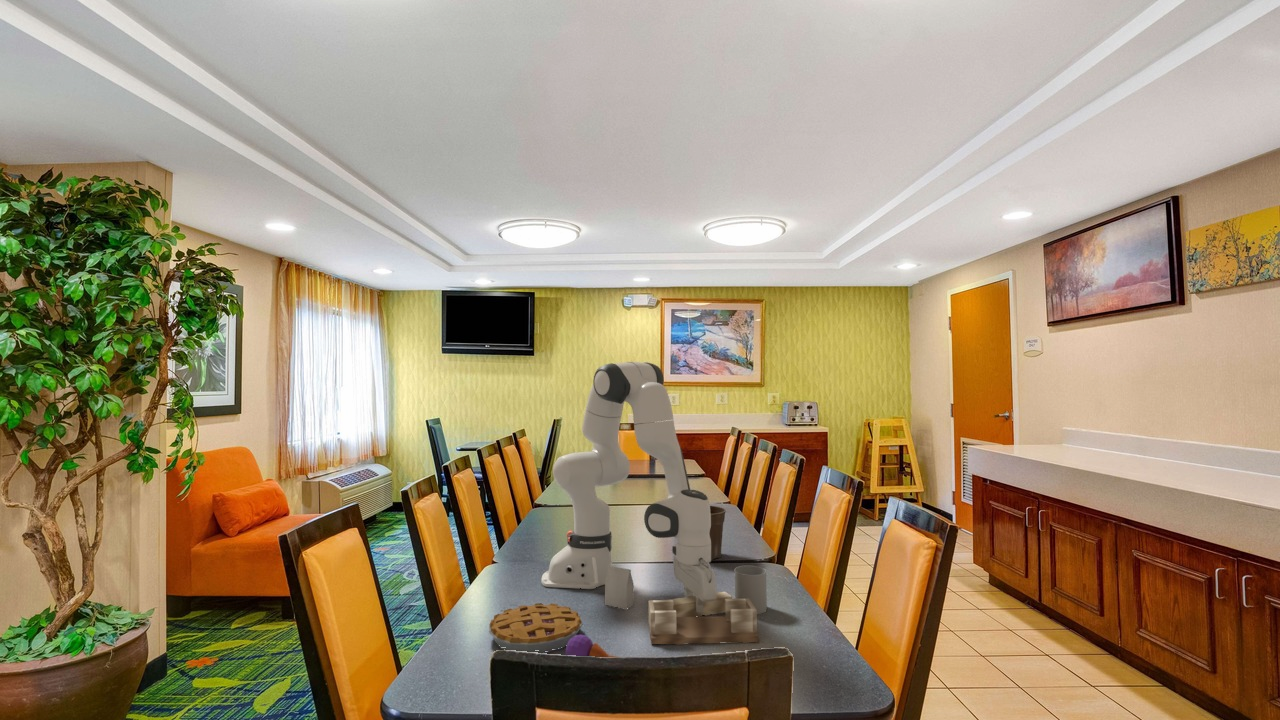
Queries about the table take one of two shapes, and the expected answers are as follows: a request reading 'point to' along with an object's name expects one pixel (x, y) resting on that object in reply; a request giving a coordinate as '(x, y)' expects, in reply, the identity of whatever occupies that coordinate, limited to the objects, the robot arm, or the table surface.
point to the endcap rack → (703, 624)
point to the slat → (687, 607)
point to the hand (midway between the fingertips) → (694, 607)
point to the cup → (751, 586)
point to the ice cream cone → (584, 647)
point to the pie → (535, 627)
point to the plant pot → (716, 530)
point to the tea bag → (619, 587)
